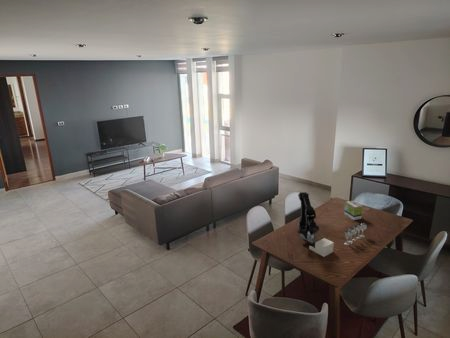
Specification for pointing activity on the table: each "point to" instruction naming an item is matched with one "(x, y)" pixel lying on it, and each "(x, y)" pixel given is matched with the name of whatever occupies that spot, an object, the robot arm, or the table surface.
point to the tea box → (353, 210)
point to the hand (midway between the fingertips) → (308, 238)
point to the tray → (309, 238)
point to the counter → (323, 247)
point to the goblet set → (354, 230)
